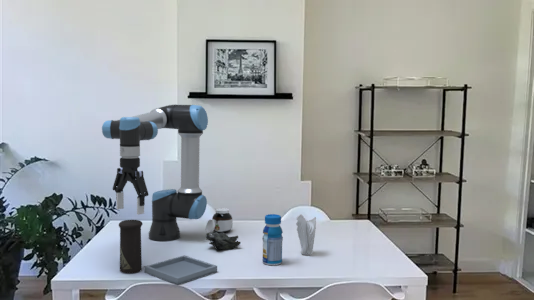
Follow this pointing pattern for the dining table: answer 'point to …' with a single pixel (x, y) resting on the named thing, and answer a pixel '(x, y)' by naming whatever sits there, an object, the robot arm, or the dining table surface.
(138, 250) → the container
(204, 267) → the tray
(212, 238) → the mineral specimen
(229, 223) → the spread jar
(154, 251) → the dining table surface
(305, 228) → the shell sculpture
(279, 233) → the beverage bottle
